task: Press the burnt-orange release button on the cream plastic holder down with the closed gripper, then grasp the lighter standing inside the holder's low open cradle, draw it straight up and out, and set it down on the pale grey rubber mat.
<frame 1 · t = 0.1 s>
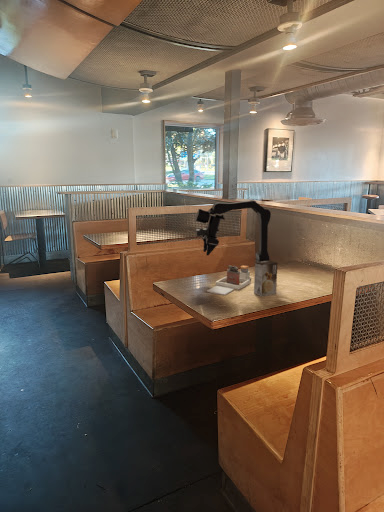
hand: (205, 253, 196), 15 cm above the table, tool pointing down, fingers open, 9 cm apart
holder: (232, 284, 194), on the table
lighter: (232, 284, 194), resting in holder
mat: (220, 290, 182), on the table
coffee box: (264, 294, 179), on the table
plunger: (244, 270, 202), point 5 cm above the table, slide at 0.0 cm
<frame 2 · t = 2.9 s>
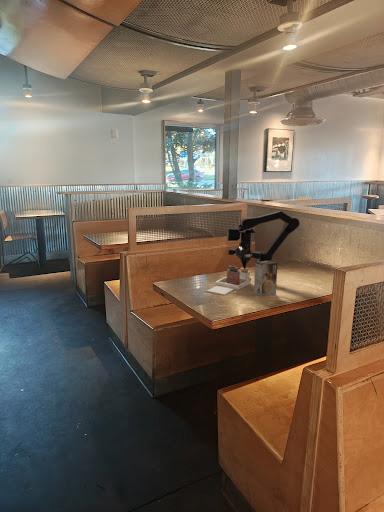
hand: (244, 268, 202), 6 cm above the table, tool pointing down, fingers closed, pressing on plunger
plunger: (244, 272, 202), point 4 cm above the table, slide at 1.1 cm, touching gripper
everything else where it was.
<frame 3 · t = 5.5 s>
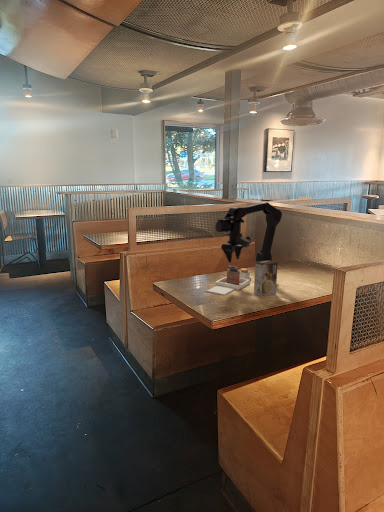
hand: (233, 260, 191), 13 cm above the table, tool pointing down, fingers open, 9 cm apart
plunger: (244, 273, 202), point 4 cm above the table, slide at 1.6 cm
everything else where it was.
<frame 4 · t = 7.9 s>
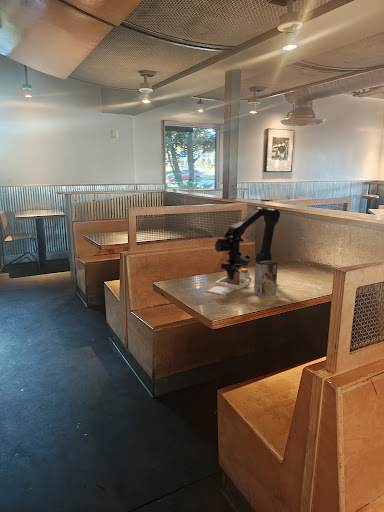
hand: (233, 278, 193), 3 cm above the table, tool pointing down, fingers closed on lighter, 3 cm apart
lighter: (232, 284, 194), resting in holder, touching gripper
everything else where it was.
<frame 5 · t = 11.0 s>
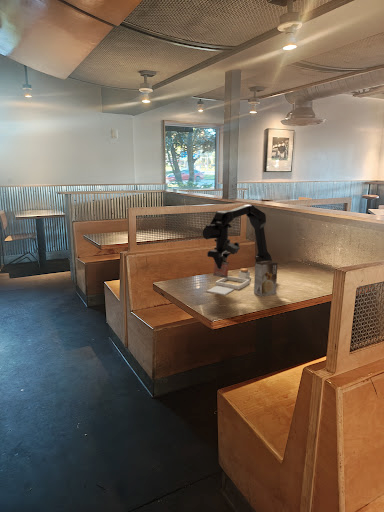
hand: (221, 268, 180), 12 cm above the table, tool pointing down, fingers closed on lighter, 3 cm apart
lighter: (220, 276, 180), point 8 cm above the table, touching gripper
everything else where it was.
when the fingers open (5 cm above the table, at t = 13.1 s): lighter stays where it is, resting on mat.
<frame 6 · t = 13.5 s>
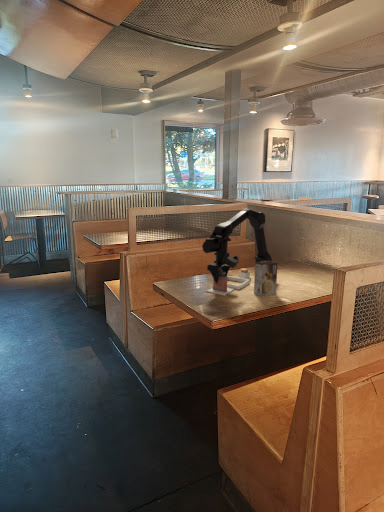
hand: (220, 281, 181), 5 cm above the table, tool pointing down, fingers open, 8 cm apart
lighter: (219, 290, 182), resting on mat
everything else where it was.
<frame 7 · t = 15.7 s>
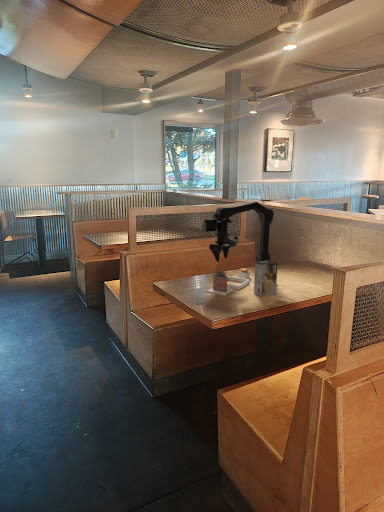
hand: (221, 260, 193), 13 cm above the table, tool pointing down, fingers open, 9 cm apart
nothing on the table moved.
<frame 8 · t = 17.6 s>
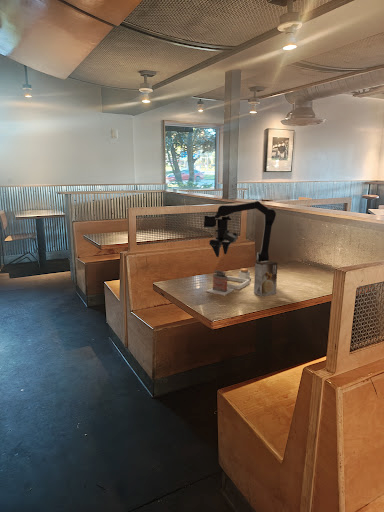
hand: (221, 255, 202), 13 cm above the table, tool pointing down, fingers open, 9 cm apart
nothing on the table moved.
at the end: plunger slide at 1.6 cm; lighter inside the target area on the mat (0.7 cm from its centre), point 0.4 cm above the mat's base; the gripper is holding nothing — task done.
